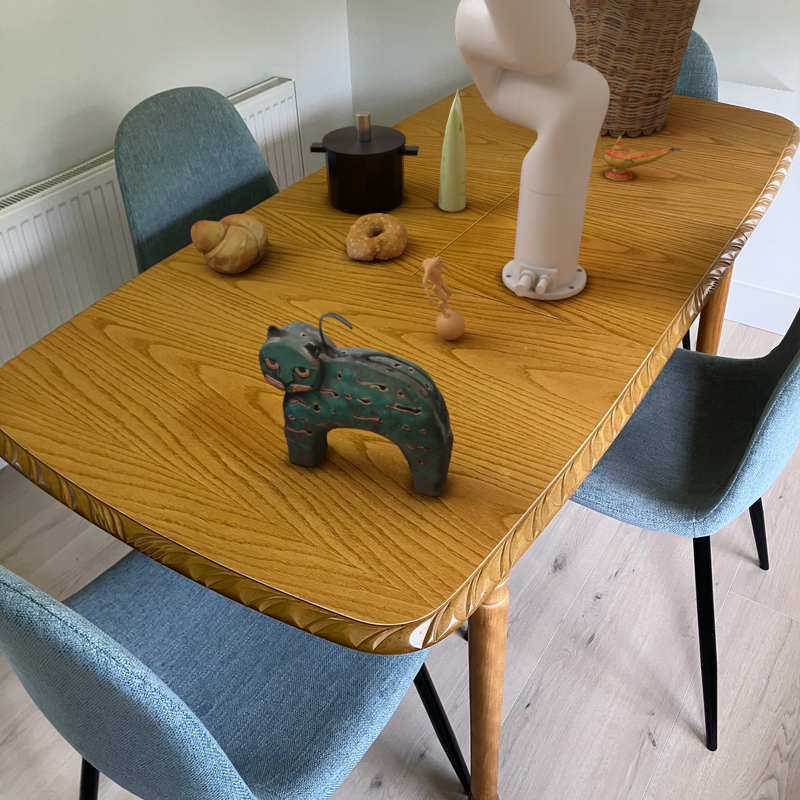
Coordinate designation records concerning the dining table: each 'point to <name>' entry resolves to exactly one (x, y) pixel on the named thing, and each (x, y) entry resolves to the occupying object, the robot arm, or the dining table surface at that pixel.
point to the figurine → (450, 320)
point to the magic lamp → (628, 158)
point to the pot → (365, 180)
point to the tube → (453, 162)
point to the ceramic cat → (356, 399)
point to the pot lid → (363, 139)
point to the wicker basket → (634, 56)
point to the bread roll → (231, 242)
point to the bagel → (376, 237)
